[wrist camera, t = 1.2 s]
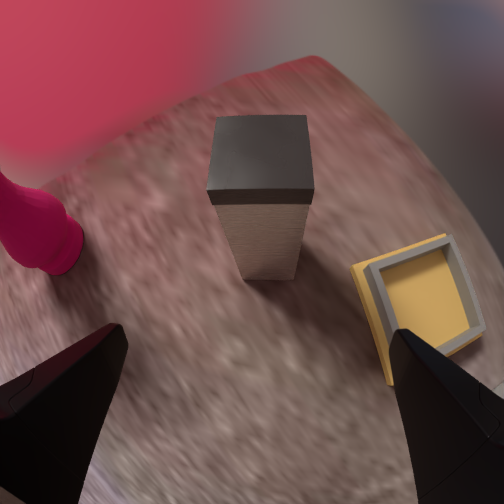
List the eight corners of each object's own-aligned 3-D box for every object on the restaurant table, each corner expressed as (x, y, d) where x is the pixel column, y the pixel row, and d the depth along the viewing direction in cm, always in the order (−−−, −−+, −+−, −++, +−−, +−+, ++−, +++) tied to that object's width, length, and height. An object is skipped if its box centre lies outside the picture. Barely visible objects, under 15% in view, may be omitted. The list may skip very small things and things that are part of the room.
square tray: (476, 336, 20) (492, 332, 17) (387, 384, 19) (400, 387, 17) (440, 237, 23) (453, 225, 21) (349, 268, 23) (357, 258, 20)
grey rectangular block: (294, 280, 23) (314, 188, 11) (241, 280, 23) (206, 190, 11) (293, 232, 24) (306, 115, 12) (243, 232, 25) (216, 117, 12)
